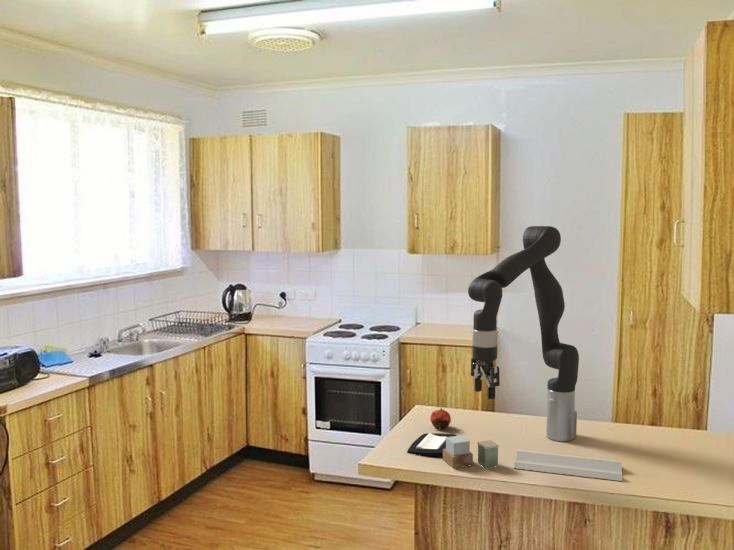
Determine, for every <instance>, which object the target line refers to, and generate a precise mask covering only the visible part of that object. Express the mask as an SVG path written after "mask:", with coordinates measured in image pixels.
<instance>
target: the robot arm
mask: <svg viewBox="0 0 734 550" xmlns="http://www.w3.org/2000/svg"><path fill="white" fill-rule="evenodd" d="M561 236H562V235H561V232H560V231H559V230H558V228H556V227H555V226H550V225H533V226H528V227H526V228H525V230H523V235H522V245H523V249H522V250H520V251H518V252H515V253H513V254H511V255H509V256H507V257H506V258H504V259H503V260H501V261H500V262H499V263H498V264H497V265H496V266H494V267H493V268H492V269H491V270H488V271H486V272H483V273H482V274H480V275H479V276H476V277H475V278H474V279H473V280H472V281H471V282H470V283H469V284H468V285H469V286H468V288H467V293H468V296H469V298H470V299H471V300H473V301H475V302H480V303H484V305H483V308H481V309H477V310H476V311H474V313H473V320H472V321H473V332H472V358H470V376H471V377H472V378H473V380H474V391H475V392H477V393H479V392H480V393H481V392H482V390H483V381H485V382H486V384H487V399H489V400H493V399H495V398H496V387H500V385H501V384H500V382H501V379H500V366H495V365H494V361H495V360H497V359H498V331H497V325H498V321H497V317H498V313H499V310H500V306H501V302H502V298H503V289H504V288H506V287H508V286H509V285H511V284H512V283H513V282H514V281H515V280H516V279H517V278H518V277H520V276H521V275H522V274H523V273H524V272H525V271H527V270H528V269H529V271H530V275H531V280H532V281H531V282H532V286H533V291H534V299H535V305H536V309H537V315H538V319H539V328H540V336H541V337H540V339H541V353H542V359H543V362H544V364H545V365H546V366H547V367H549V368H550V369H555V370H558V375H557V377H551V378H549V379H548V380H547V389H546V391H547V393H546V395H547V396H546V398H547V399H546V437H547V438H548V439H550V440H553V441H557V442H569V441H573V440H574V439H576V438H577V423H578V420H577V419H578V411H577V410H575V407H576V406H575V405H576V404H575V402H576V401H575V400H576V394H575V393H576V386H577V382H578V377H579V376H578V375H579V364H580V362H579V361H580V356H579V355H580V354H579V350H578V349H577V347H576V346H574V345H571V344H567V343H562V342H560V339H559V332H558V331H559V330H558V329H559V328H558V326H559V323H560V321H561V320H562V317H563V315H564V312H565V307H566V305H565V303H566V302H565V299H564V291H563V288H562V286H561V284H560V282H559V281H558V279H557V278H556V277H555V276H554V273H552V271H551V270H550V268H549V267H548V265H547V262H546V260H545V258H546V259H547V257H549V256H550V255H552V254H554V253H556V252H557V250H558V249H559V247H560V245H561V241H562V237H561ZM482 378H483V380H482Z"/></svg>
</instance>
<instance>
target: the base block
mask: <svg viewBox="0 0 734 550" xmlns="http://www.w3.org/2000/svg"><path fill="white" fill-rule="evenodd" d="M473 459H474V454H473V452H471V451H470V453H469V454H462V455H455V456H453V455H452V454H451V453H450V452H448V451H447V450H446V449H443V456H442V462H444V461H445V462H446V463H447V464H448V465H447V464H446V463H445V462H444V463H445V464H446V465H447V466H449V467H450V466H451V467H452V468H455V469H458V468H457V467H461V468H463V467H462V466H467V467H470V466H469V465H473V464H474V462H473V461H474V460H473ZM451 467H450V468H451ZM452 468H451V469H452Z"/></svg>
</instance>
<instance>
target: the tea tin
mask: <svg viewBox="0 0 734 550" xmlns="http://www.w3.org/2000/svg"><path fill="white" fill-rule="evenodd" d="M499 447H500V446H499V444H498V443H496V442H494V441H493V440H491V439H489V440H483V441H477V464H478V463H479V464H480V465H482V466H483V467H484V468H489V469H491V468H490V467H495V466H499ZM479 464H478V465H479ZM480 465H479V466H480ZM483 467H482V468H483ZM484 468H483V469H484Z"/></svg>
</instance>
